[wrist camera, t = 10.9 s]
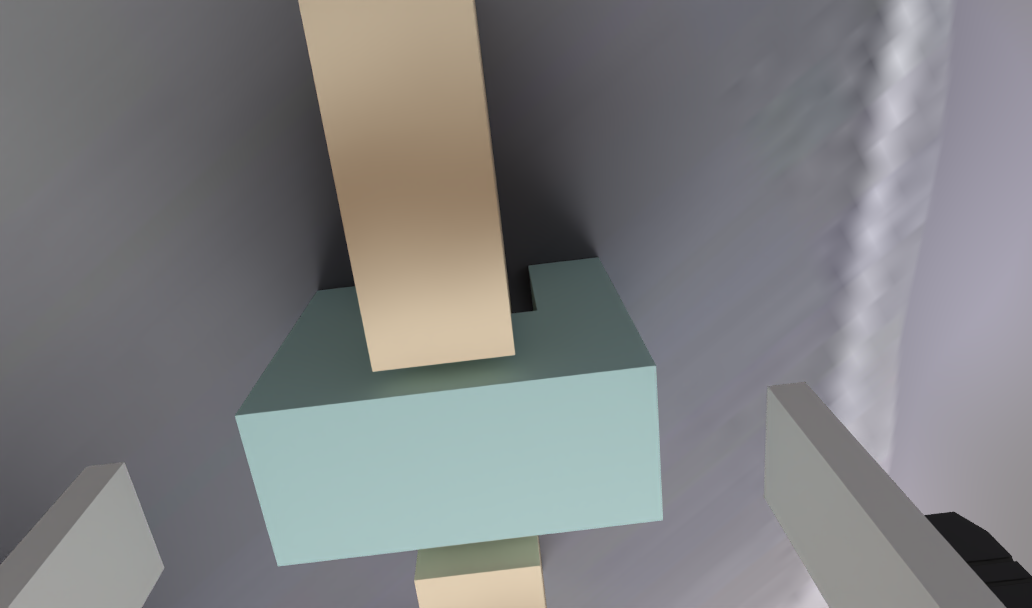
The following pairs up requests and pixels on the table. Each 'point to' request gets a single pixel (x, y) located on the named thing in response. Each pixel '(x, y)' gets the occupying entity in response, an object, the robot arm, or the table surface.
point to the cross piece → (456, 430)
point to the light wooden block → (422, 225)
